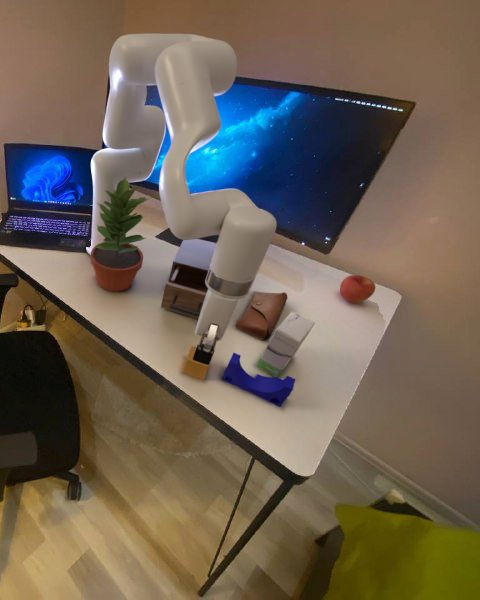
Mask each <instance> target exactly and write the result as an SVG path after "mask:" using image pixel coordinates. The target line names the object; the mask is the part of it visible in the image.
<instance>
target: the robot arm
mask: <svg viewBox="0 0 480 600" xmlns="http://www.w3.org/2000/svg"><path fill="white" fill-rule="evenodd" d="M237 72H238V60H237V55H236V53H235V50H234V49H233V47H232V46H231V45H230V44H229V43H228V42H226V41H225V40H220V39H215V38H210V37H208V36H202V35H198V34H193V33H155V32H154V33H151V32H150V33H129V34H124V35H121V36H119V37H118V38H117V39H116V40H115V42H114V43H113V45H112V47H111V50H110V53H109V59H108V73H109V93H108V98H107V104H106V109H105V116H104V122H103V127H102V140H103V143H104V145H105V146H106V148H102V149H99V150H97V151H96V152H95V153H94V154H93V156H92V157H91V161H90V170H91V179H92V215H91V216H92V217H91V238H90V240H91V246H90V247H86V246H85V250H86V253H88V255H89V256H91V251H92V249H93V248H94V247H95V246H96V245H97V244H100V243H103V242H104V239H105V237H104V236H103V235H102V234H101V233H100V232H99V231H98V230H97V228H98V227H97V225H98V226H104V227H106V226H105V224H104V221H103V220H102V219H101V217H100V216H101V214H100V212H101V213H102V214H105V213H104V212H103V211H102V210H101V208H100V206H99V205H98V204H102V205H104V206H105V207H106V208H107V209H109V210H110V207H108V206H107V205H106V204H104V203H103V202H104V201H107V202H109V203H111V197H110V196H109V195H108V194H107V193H106V192H105V191H109V192H111V193H112V194H113V193H114V190H115V191H116V189H117V185H118V183H119V182H120V181H122V180H124V178H125V176H126V180H127V181H128V182H129V184H131V183H137V182H143V181H146V180H147V179H148V178H150V177H151V175H152V173H153V171H154V168H155V165H156V163H157V160H158V157H159V154H160V151H161V148H162V146H163V143H164V140H165V137H166V132H167V131H168V133H169V137H170V146H169V149H168V150H167V153H166V155H165V157H164V159H163V161H162V165H161V169H160V173H159V181H158V192H159V198H160V202H161V206H162V211H163V214H164V218H165V221H166V224H167V227H168V229H169V230H170V232H171V234H172V235H174V237H176V238H177V239H180V240H181V241H183V240H192V239H202V238H207V237H212V236H218V238H217V241H216V243H217V244H216V247H215V251H214V254H213V257H212V260H211V264H210V267H209V270H208V273H207V277H206V280H205V283H206V286H207V287H208V291H207V294H206V297H205V300H204V303H203V306H202V309H201V312H200V316H199V319H198V320H197V323H196V326H195V330H194V333H195V335H197V336H200V340H199V343H198V344H196V347H197V348H196V350H195V353H194V356H193V360H194V361H197V362H200V363H203V364H206V365H209V366H210V364H211V361H212V359H213V357H214V354H215V350H216V349H215V348H216V345H217V342H220V341H221V340H222V339H223V337H224V335H225V333H226V331H227V329H228V326H229V324H230V322H231V319H232V317H233V315H234V312H235V311H236V307H237V304H238V303H239V299H243V298H245V297H247V296H248V295H249V294H250V292H251V289H252V287H253V285H254V283H255V280H256V278H257V275H258V274H259V272H260V271H259V270H260V269H261V266H262V263H263V262H264V259H265V256H266V255H267V252H268V250H269V247H270V245H271V243H272V241H273V238H274V235H275V233H276V230H277V226H278V225H277V224H278V222H277V220H276V217H275V216H274V215H273V214H272V213H270V212H269V211H267V210H265V209H262V208H259V207H258V206H257V205H256V204H255V203H254V202H253V201H252V199H250V197H249V196H248V195H247V194H246V193H245V192H243V190H240V189H237V188H223V189H216V190H208V191H201V192H194V193H190V189H189V185H188V182H187V176H186V165H187V160H188V158H189V156H190V155H191V154H192V153H194V152H195V151H197V150H199V149H201V148H202V147H204V146H205V145H206V144H208V143H209V142H211V141H212V140H213V139H214V138H216V136H217V135H218V134H219V132H220V131H221V127H222V120H221V116H220V113H219V110H218V105H217V102H216V99H215V97H219V96H222V95H224V94H225V93H227V92H228V91H229V90H230V89H231V87H232V86H233V85H234V82H235V79H236V77H237V74H238V73H237ZM147 86H156V87H157V91H158V95H159V99H160V103H161V106H162V108H160V107H159V106H156V105H152V104H151V105H150V104H149V105H148V104H147V105H145V103H146V101H147V96H148V88H147ZM96 202H97V203H98V204H97V203H96ZM205 338H206V339H205ZM204 340H205V341H204Z"/></svg>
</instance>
